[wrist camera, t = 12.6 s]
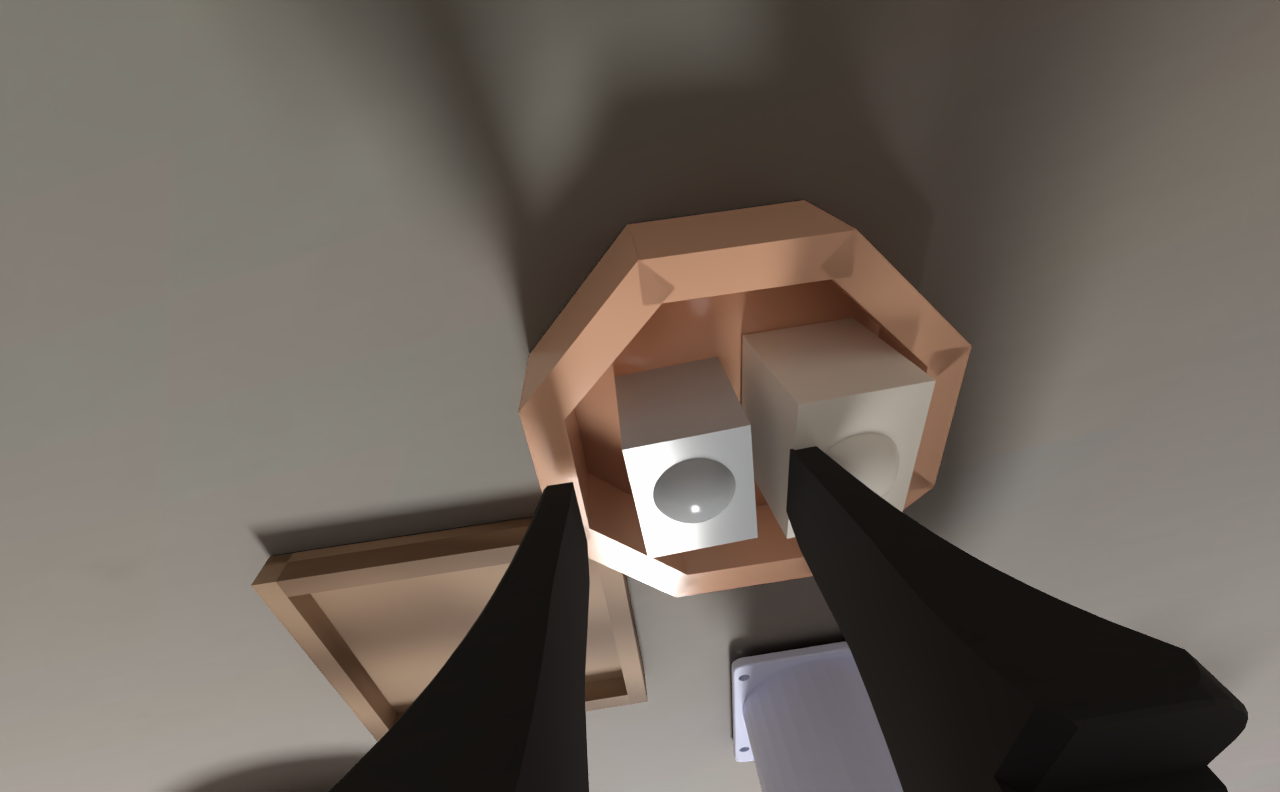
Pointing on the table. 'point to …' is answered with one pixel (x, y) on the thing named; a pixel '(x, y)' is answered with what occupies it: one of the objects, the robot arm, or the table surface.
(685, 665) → the table surface
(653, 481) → the white cube with dimple
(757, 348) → the white dimple block
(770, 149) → the table surface
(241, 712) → the table surface
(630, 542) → the bowl
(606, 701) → the tray
